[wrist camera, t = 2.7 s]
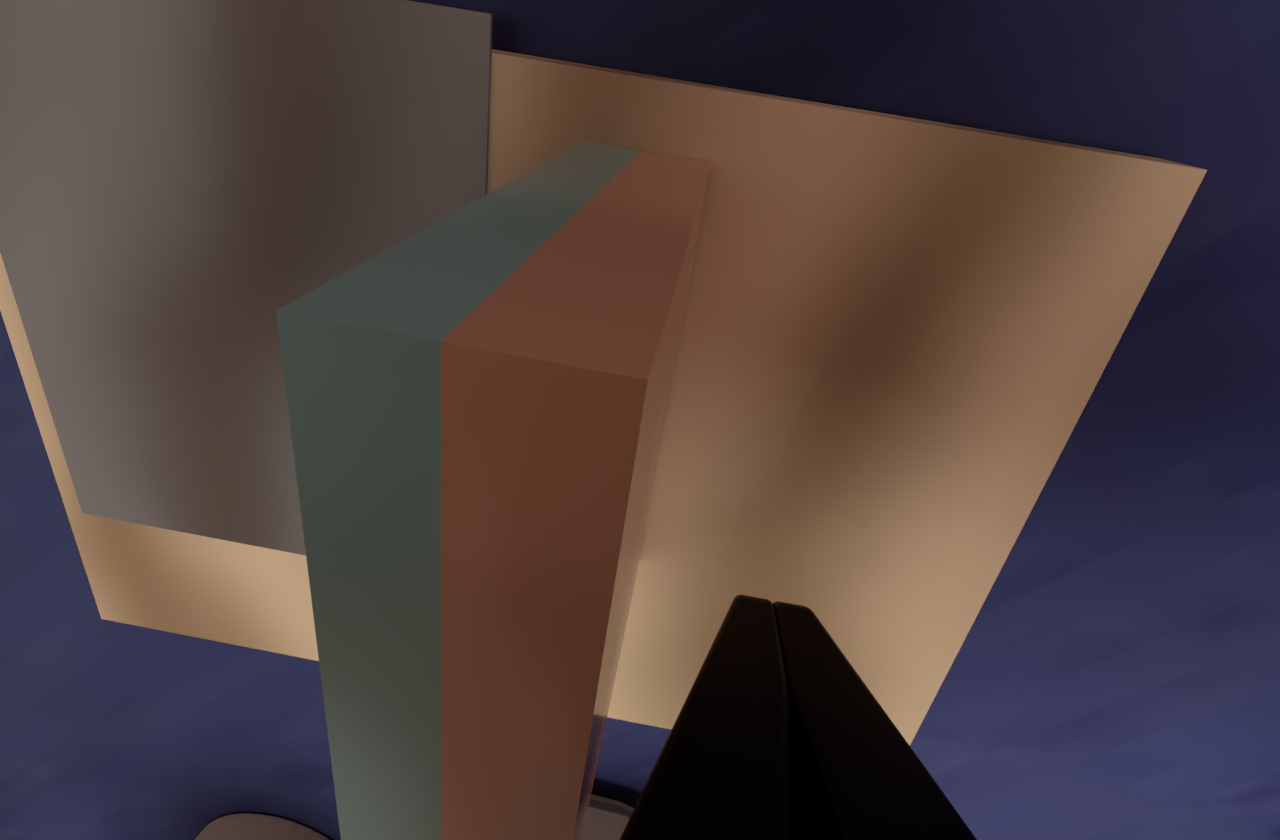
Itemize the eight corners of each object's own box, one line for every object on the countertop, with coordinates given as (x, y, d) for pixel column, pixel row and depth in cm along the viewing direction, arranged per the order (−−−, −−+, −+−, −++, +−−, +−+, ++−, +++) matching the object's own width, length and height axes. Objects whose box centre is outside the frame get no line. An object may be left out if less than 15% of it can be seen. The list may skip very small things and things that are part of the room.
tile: (711, 163, 11) (647, 381, 4) (639, 562, 14) (539, 1044, 7) (584, 140, 11) (276, 310, 4) (545, 543, 14) (361, 1001, 8)
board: (1177, 124, 11) (1230, 133, 10) (885, 730, 18) (896, 776, 17) (-51, -75, 11) (-138, -88, 10) (137, 585, 18) (98, 621, 17)
